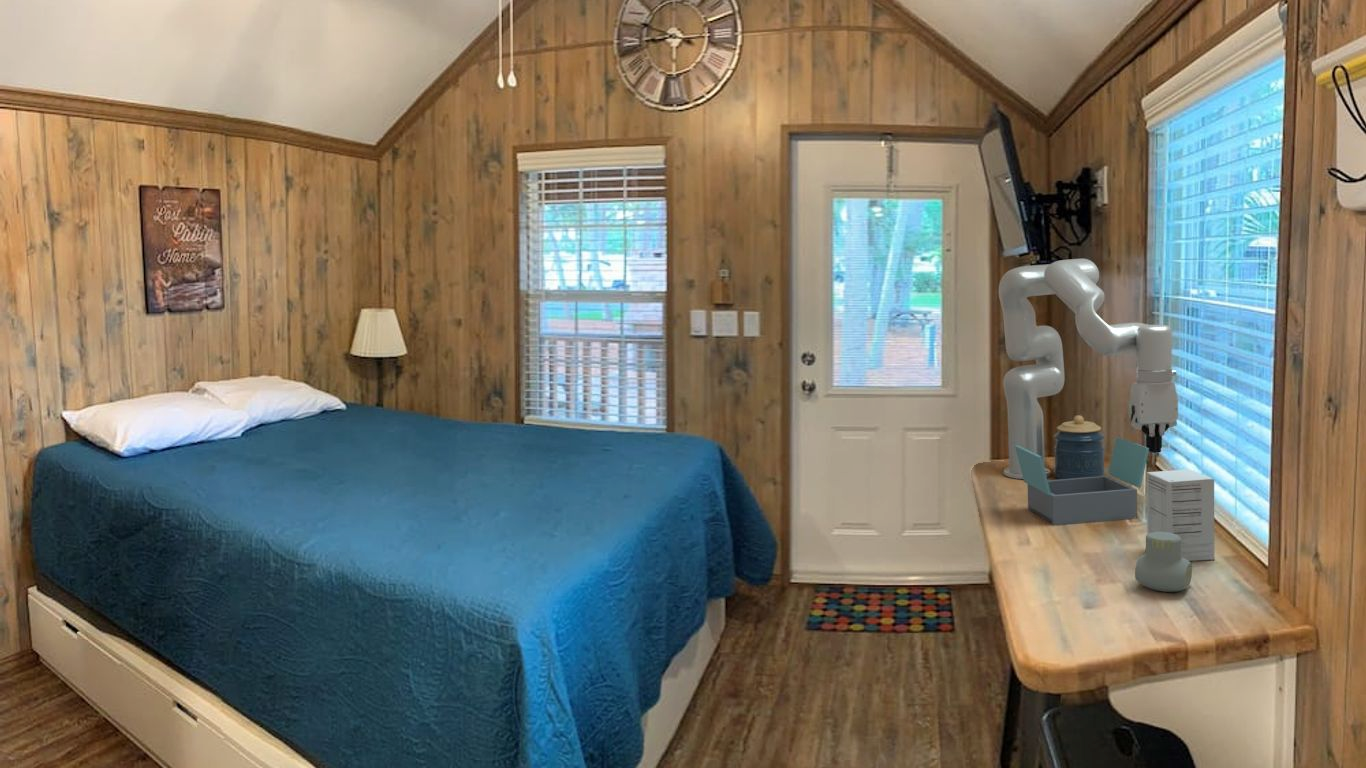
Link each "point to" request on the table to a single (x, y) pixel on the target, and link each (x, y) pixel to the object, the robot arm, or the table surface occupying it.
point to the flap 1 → (1033, 469)
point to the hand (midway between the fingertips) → (1153, 451)
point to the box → (1084, 500)
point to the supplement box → (1183, 510)
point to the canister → (1079, 450)
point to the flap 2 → (1128, 461)
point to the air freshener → (1163, 564)
